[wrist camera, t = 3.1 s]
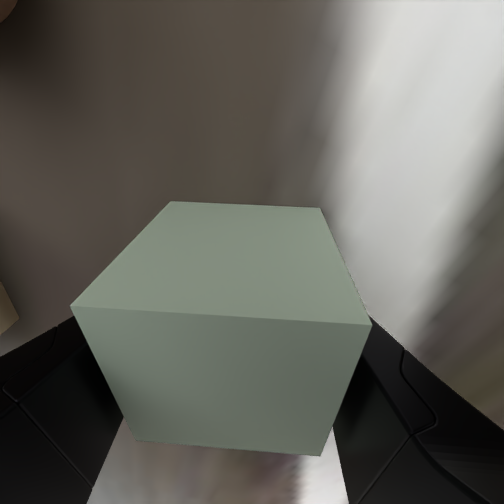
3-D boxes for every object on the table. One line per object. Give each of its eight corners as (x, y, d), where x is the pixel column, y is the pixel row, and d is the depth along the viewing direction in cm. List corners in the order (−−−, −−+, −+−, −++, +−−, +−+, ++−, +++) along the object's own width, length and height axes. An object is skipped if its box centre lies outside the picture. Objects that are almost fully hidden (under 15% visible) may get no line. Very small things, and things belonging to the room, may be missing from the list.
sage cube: (319, 208, 8) (372, 325, 4) (300, 316, 11) (320, 456, 7) (170, 201, 8) (69, 305, 4) (187, 309, 11) (135, 440, 7)
